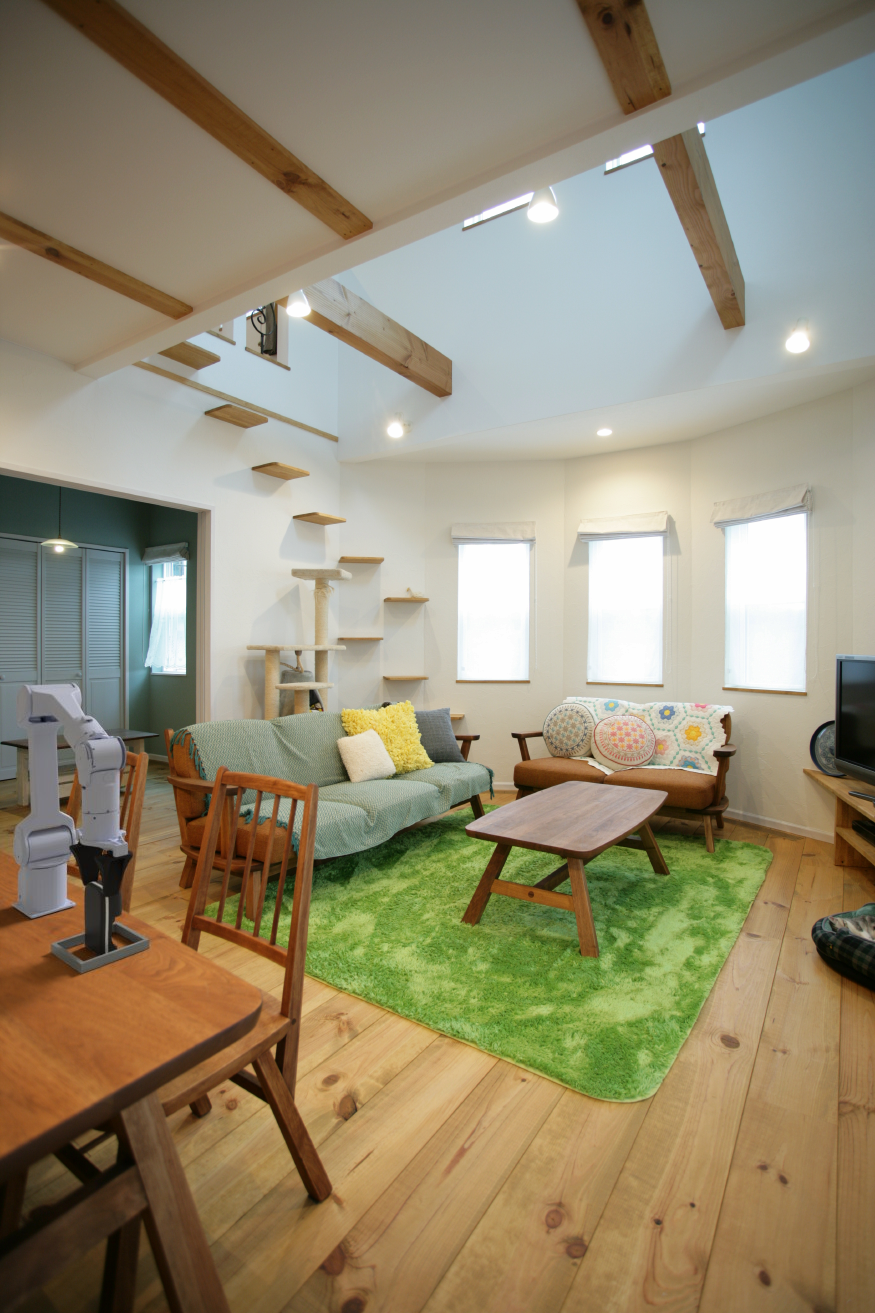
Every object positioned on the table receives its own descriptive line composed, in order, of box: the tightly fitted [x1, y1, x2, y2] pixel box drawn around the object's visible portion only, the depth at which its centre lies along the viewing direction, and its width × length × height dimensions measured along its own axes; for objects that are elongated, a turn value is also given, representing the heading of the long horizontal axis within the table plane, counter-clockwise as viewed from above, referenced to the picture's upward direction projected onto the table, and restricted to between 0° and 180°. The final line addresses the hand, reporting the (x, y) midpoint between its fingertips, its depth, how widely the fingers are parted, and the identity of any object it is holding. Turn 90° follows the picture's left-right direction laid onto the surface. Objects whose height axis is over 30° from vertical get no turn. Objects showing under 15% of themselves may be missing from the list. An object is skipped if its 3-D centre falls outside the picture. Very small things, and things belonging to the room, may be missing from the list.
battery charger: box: [83, 879, 123, 956], centre depth 112 cm, size 7×4×11 cm, turn 51°
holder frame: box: [50, 921, 150, 975], centre depth 111 cm, size 11×11×2 cm
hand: (100, 889), depth 111 cm, fingers open, 7 cm apart
